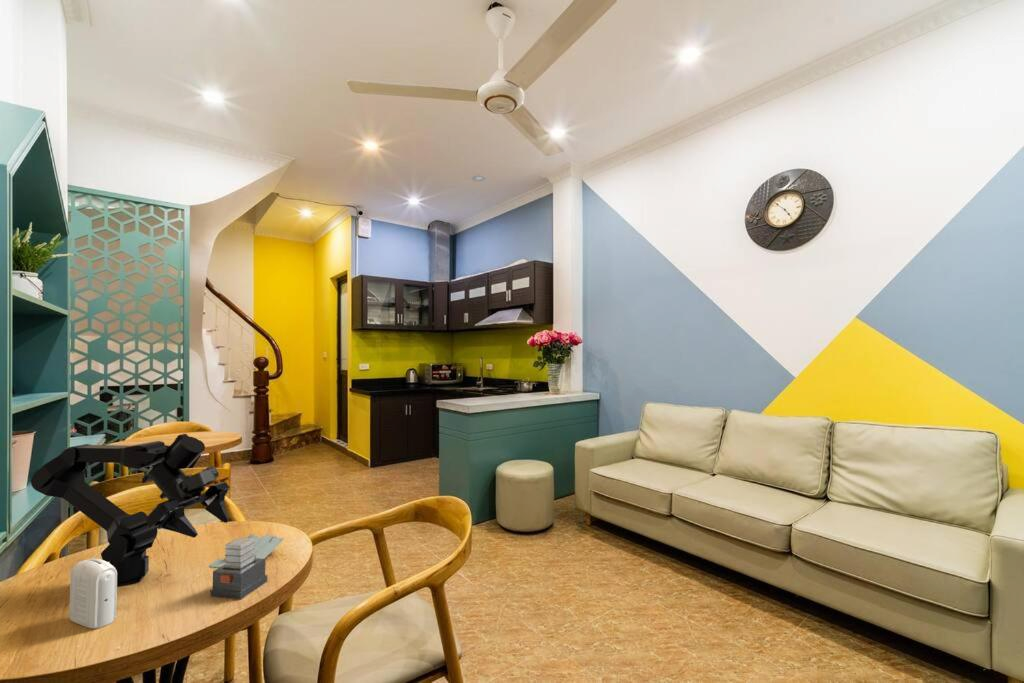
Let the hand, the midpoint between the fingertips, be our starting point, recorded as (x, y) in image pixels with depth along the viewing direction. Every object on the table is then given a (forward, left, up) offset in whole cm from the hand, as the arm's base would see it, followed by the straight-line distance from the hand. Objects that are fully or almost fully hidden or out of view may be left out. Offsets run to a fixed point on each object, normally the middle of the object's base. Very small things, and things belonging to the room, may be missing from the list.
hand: (212, 528), depth 105 cm
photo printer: (-19, -7, -13) cm, 25 cm away
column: (+7, -6, -11) cm, 14 cm away
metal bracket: (+7, +11, -14) cm, 19 cm away
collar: (+7, -6, -13) cm, 16 cm away
